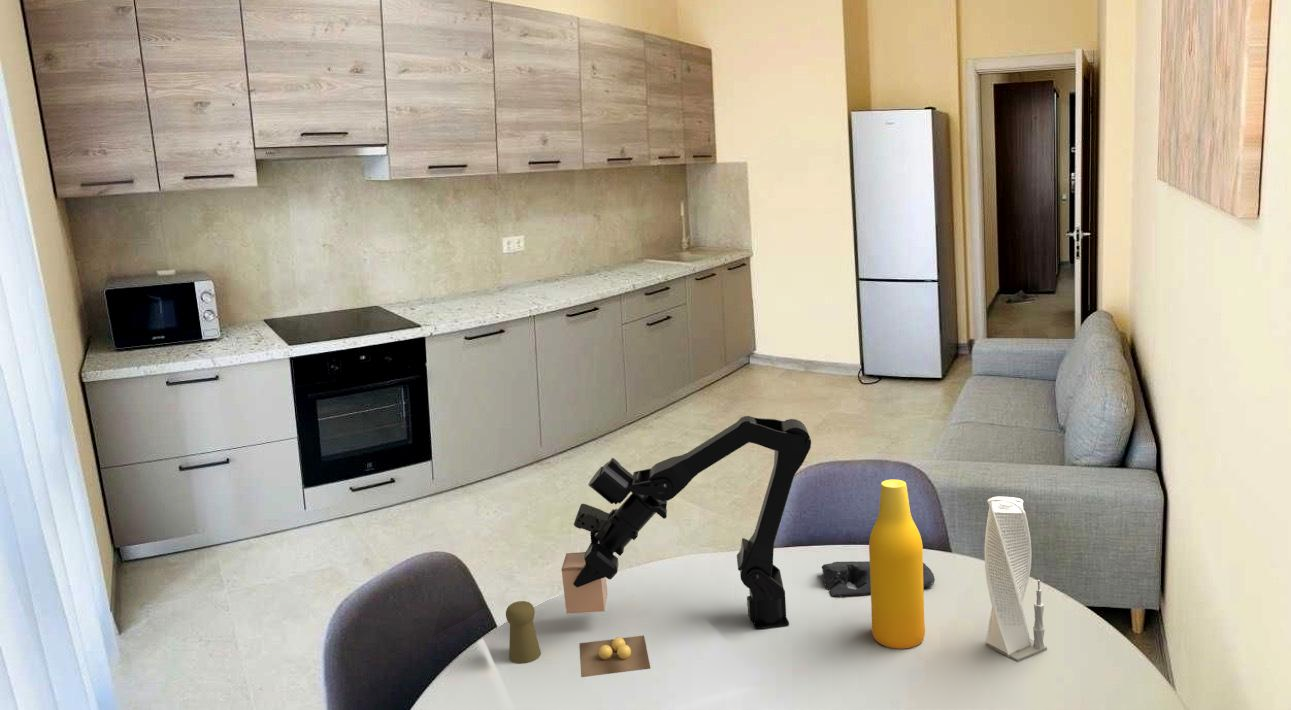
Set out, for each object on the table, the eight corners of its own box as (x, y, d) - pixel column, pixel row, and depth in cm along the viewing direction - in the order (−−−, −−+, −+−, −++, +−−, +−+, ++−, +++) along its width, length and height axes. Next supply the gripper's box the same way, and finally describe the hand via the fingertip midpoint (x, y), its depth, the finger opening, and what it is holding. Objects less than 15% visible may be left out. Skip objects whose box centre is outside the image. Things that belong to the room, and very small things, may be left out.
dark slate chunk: (940, 597, 186) (940, 574, 185) (826, 600, 189) (825, 578, 188) (926, 564, 201) (925, 543, 200) (820, 567, 204) (819, 547, 203)
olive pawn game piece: (536, 669, 171) (529, 612, 169) (504, 668, 172) (497, 611, 170) (546, 652, 177) (540, 597, 174) (515, 651, 178) (509, 596, 176)
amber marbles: (623, 646, 175) (622, 633, 174) (633, 659, 170) (632, 646, 169) (594, 653, 173) (593, 640, 173) (604, 667, 168) (603, 654, 168)
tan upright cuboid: (607, 594, 186) (603, 550, 185) (604, 611, 179) (599, 566, 177) (571, 596, 187) (566, 553, 185) (566, 613, 180) (561, 568, 178)
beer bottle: (929, 628, 174) (925, 476, 168) (920, 653, 166) (916, 494, 160) (877, 621, 178) (872, 473, 172) (867, 645, 170) (861, 490, 164)
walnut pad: (644, 640, 178) (643, 635, 178) (651, 673, 166) (650, 668, 166) (580, 648, 177) (579, 643, 177) (582, 682, 165) (581, 676, 165)
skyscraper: (1011, 664, 160) (1010, 505, 154) (974, 644, 167) (972, 492, 161) (1046, 649, 164) (1047, 494, 158) (1009, 630, 171) (1008, 481, 165)
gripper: (601, 475, 188) (551, 532, 190) (591, 509, 169) (537, 571, 172) (644, 510, 189) (594, 566, 191) (640, 548, 170) (584, 609, 173)
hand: (577, 576), depth 182 cm, fingers closed on tan upright cuboid, 7 cm apart
